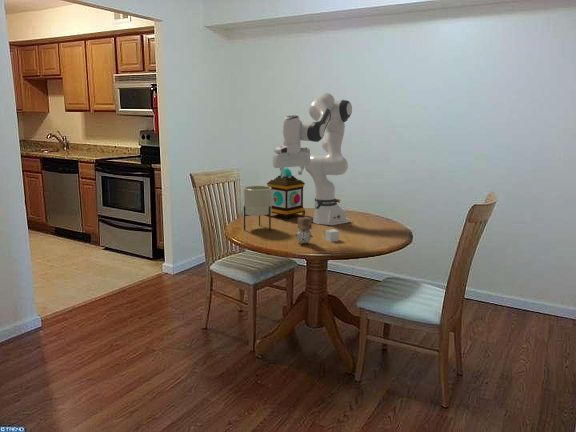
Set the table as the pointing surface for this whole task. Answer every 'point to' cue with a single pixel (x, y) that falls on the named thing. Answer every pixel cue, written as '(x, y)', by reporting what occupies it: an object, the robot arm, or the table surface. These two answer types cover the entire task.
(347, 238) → the table surface
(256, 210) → the planter
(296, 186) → the decorative lantern
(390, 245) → the table surface
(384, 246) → the table surface
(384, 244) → the table surface
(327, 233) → the grey block
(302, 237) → the game die
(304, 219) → the walnut block
